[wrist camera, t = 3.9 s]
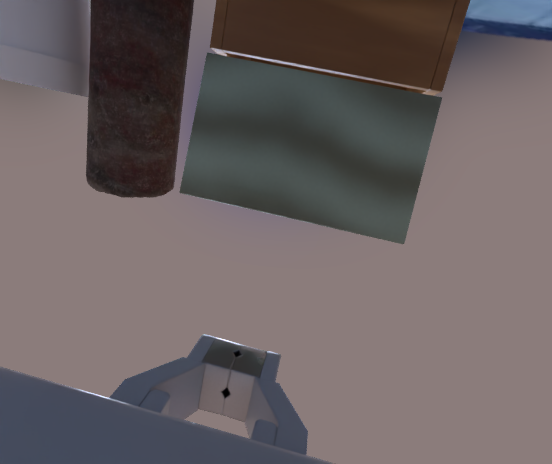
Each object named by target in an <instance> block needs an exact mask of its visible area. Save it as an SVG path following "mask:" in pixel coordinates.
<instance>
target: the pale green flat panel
mask: <svg viewBox="0 0 552 464" xmlns="http://www.w3.org/2000/svg"><path fill="white" fill-rule="evenodd" d="M441 100H442V98H441V97H436V96H431V95H426V94H421V93H416V92H411V91H405V90H400V89H395V88H390V87H384V86H379V85H374V84H369V83H364V82H358V81H353V80H348V79H343V78H338V77H332V76H327V75H322V74H317V73H312V72H306V71H301V70H296V69H291V68H286V67H280V66H275V65H270V64H265V63H259V62H254V61H249V60H244V59H239V58H233V57H228V56H223V55H218V54H212V53H207V56H206V61H205V66H204V71H203V76H202V81H201V87H200V91H199V96H198V101H197V106H196V112H195V117H194V122H193V127H192V132H191V137H190V142H189V147H188V152H187V157H186V162H185V167H184V172H183V177H182V182H181V187H180V193H182V194H186V195H191V196H195V197H199V198H204V199H208V200H212V201H217V202H221V203H226V204H230V205H234V206H239V207H243V208H248V209H252V210H257V211H260V212H265V213H270V214H274V215H278V216H283V217H287V218H291V219H296V220H300V221H305V222H308V223H313V224H318V225H321V226H326V227H330V228H335V229H339V230H344V231H348V232H352V233H356V234H361V235H365V236H369V237H374V238H378V239H383V240H387V241H391V242H396V243H400V244H404V242H405V238H406V235H407V231H408V227H409V223H410V219H411V215H412V212H413V208H414V204H415V200H416V196H417V192H418V188H419V185H420V181H421V177H422V173H423V169H424V165H425V162H426V157H427V154H428V150H429V146H430V142H431V138H432V135H433V131H434V127H435V123H436V119H437V115H438V112H439V108H440V104H441Z"/></svg>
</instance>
